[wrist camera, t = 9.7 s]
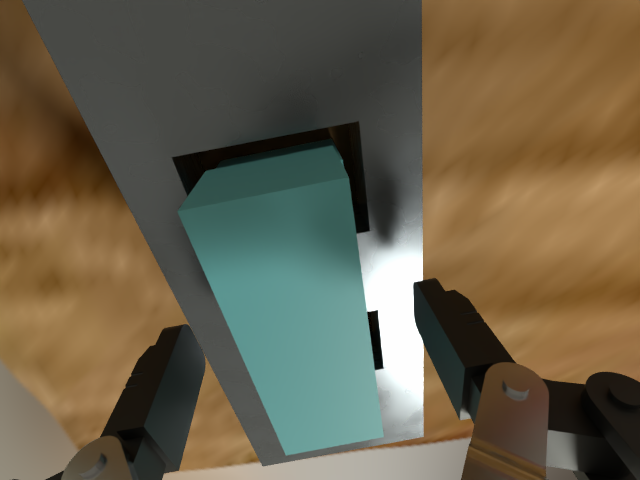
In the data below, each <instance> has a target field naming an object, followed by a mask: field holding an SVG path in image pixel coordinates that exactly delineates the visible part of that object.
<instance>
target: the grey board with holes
mask: <svg viewBox="0 0 640 480" xmlns="http://www.w3.org/2000/svg"><path fill="white" fill-rule="evenodd" d="M22 1H23V3H24V5H25V7H26V9H27V11H28V13H29V15H30V17H31V19H32V21H33V23H34V24H35V26H36V28H37V30H38V32H39V34H40V36H41V38H42V40H43V42H44V44H45V46H46V48H47V50H48V52H49V53H50V55H51V57H52V59H53V61H54V63H55V65H56V67H57V69H58V71H59V73H60V75H61V77H62V79H63V81H64V83H65V84H66V86H67V88H68V90H69V92H70V94H71V96H72V98H73V100H74V102H75V104H76V106H77V108H78V110H79V112H80V114H81V115H82V117H83V119H84V121H85V123H86V125H87V127H88V129H89V131H90V133H91V135H92V137H93V139H94V141H95V143H96V144H97V146H98V148H99V150H100V152H101V154H102V156H103V158H104V160H105V162H106V164H107V166H108V168H109V170H110V172H111V174H112V175H113V177H114V179H115V181H116V183H117V185H118V187H119V189H120V191H121V193H122V195H123V197H124V199H125V201H126V203H127V205H128V206H129V208H130V210H131V212H132V214H133V216H134V218H135V220H136V222H137V224H138V226H139V228H140V230H141V232H142V234H143V235H144V237H145V239H146V241H147V243H148V245H149V247H150V249H151V251H152V253H153V255H154V257H155V259H156V261H157V263H158V265H159V266H160V268H161V270H162V272H163V274H164V276H165V278H166V280H167V282H168V284H169V286H170V288H171V290H172V292H173V294H174V296H175V297H176V299H177V301H178V303H179V305H180V307H181V309H182V311H183V313H184V315H185V317H186V319H187V321H188V323H189V325H190V326H191V328H192V330H193V332H194V334H195V336H196V338H197V340H198V342H199V344H200V346H201V348H202V350H203V352H204V354H205V356H206V357H207V359H208V361H209V363H210V365H211V367H212V369H213V371H214V373H215V375H216V377H217V379H218V381H219V383H220V385H221V387H222V388H223V390H224V392H225V394H226V396H227V398H228V400H229V402H230V404H231V406H232V408H233V410H234V412H235V414H236V416H237V417H238V419H239V421H240V423H241V425H242V427H243V429H244V431H245V433H246V435H247V437H248V439H249V441H250V443H251V445H252V447H253V448H254V450H255V452H256V454H257V456H258V458H259V460H260V462H261V464H262V466H267V465H273V464H278V463H284V462H289V461H295V460H300V459H306V458H311V457H317V456H322V455H327V454H333V453H338V452H344V451H349V450H354V449H360V448H365V447H371V446H376V445H382V444H387V443H392V442H398V441H403V440H409V439H414V438H419V437H423V341H422V339H421V337H420V335H419V333H418V330H417V328H416V324H415V320H414V311H413V283H414V282H417V281H422V280H423V224H422V0H22ZM347 123H348V127H349V136H350V144H351V153H352V162H353V170H354V179H355V187H356V196H357V204H358V205H353V212H354V220H355V227H356V234H357V242H358V249H359V257H360V264H361V271H362V279H363V286H364V294H365V301H366V308H367V312H369V311H370V315H371V324H372V332H370V338H371V345H372V353H373V360H374V367H375V375H376V382H377V390H378V397H379V404H380V412H381V419H382V427H383V434H384V437H381V438H376V439H371V440H365V441H360V442H355V443H350V444H344V445H339V446H334V447H329V448H323V449H318V450H313V451H308V452H302V453H297V454H292V455H287V456H286V455H285V452H284V450H283V448H282V446H281V443H280V441H279V439H278V437H277V434H276V432H275V430H274V428H273V425H272V423H271V421H270V419H269V416H268V414H267V412H266V410H265V407H264V405H263V403H262V401H261V399H260V396H259V394H258V392H257V390H256V387H255V385H254V383H253V381H252V378H251V376H250V374H249V372H248V369H247V367H246V365H245V363H244V360H243V358H242V356H241V354H240V351H239V349H238V347H237V345H236V342H235V340H234V338H233V336H232V333H231V331H230V329H229V327H228V324H227V322H226V320H225V318H224V315H223V313H222V311H221V309H220V307H219V304H218V302H217V300H216V298H215V295H214V293H213V291H212V289H211V286H210V284H209V282H208V280H207V277H206V275H205V273H204V271H203V268H202V266H201V264H200V262H199V259H198V257H197V255H196V253H195V250H194V248H193V246H192V244H191V241H190V239H189V237H188V235H187V232H186V230H185V228H184V226H183V223H182V221H181V219H180V217H179V214H178V212H177V211H178V210H179V208H180V207H181V205H182V204H183V202H184V201H185V200H186V198H187V197H188V195H189V194H190V193H191V191H192V190H193V188H194V187H195V185H196V184H197V183H198V181H199V180H200V178H201V177H202V175H203V174H204V171H203V169H202V166H201V163H200V160H199V158H198V155H197V152H202V151H207V150H212V149H217V148H222V147H228V146H233V145H238V144H243V143H248V142H254V141H259V140H264V139H269V138H274V137H280V136H285V135H290V134H295V133H300V132H306V131H311V130H316V129H321V128H326V127H332V126H337V125H342V124H347Z"/></svg>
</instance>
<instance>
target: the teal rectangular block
mask: <svg viewBox="0 0 640 480" xmlns="http://www.w3.org/2000/svg"><path fill="white" fill-rule="evenodd" d="M177 212H178V214H179V217H180V219H181V221H182V223H183V226H184V228H185V230H186V232H187V235H188V237H189V239H190V241H191V244H192V246H193V248H194V250H195V253H196V255H197V257H198V259H199V262H200V264H201V266H202V268H203V271H204V273H205V275H206V277H207V280H208V282H209V284H210V286H211V289H212V291H213V293H214V295H215V298H216V300H217V302H218V304H219V307H220V309H221V311H222V313H223V315H224V318H225V320H226V322H227V324H228V327H229V329H230V331H231V333H232V336H233V338H234V340H235V342H236V345H237V347H238V349H239V351H240V354H241V356H242V358H243V360H244V363H245V365H246V367H247V369H248V372H249V374H250V376H251V378H252V381H253V383H254V385H255V387H256V390H257V392H258V394H259V396H260V399H261V401H262V403H263V405H264V407H265V410H266V412H267V414H268V416H269V419H270V421H271V423H272V425H273V428H274V430H275V432H276V434H277V437H278V439H279V441H280V443H281V446H282V448H283V450H284V452H285V455H286V456H287V455H292V454H297V453H302V452H308V451H313V450H318V449H323V448H329V447H334V446H339V445H344V444H350V443H355V442H360V441H365V440H371V439H376V438H381V437H384V434H383V427H382V419H381V412H380V404H379V397H378V390H377V382H376V375H375V367H374V360H373V353H372V345H371V338H370V330H369V323H368V316H367V308H366V301H365V294H364V286H363V279H362V271H361V264H360V257H359V249H358V242H357V234H356V227H355V220H354V212H353V205H352V197H351V190H350V183H349V177H348V175H347V173H346V171H345V169H344V164H343V159H342V157H341V155H340V153H339V151H338V150H337V148H336V146H335V144H334V142H333V140H332V138H331V139H326V140H321V141H316V142H311V143H306V144H301V145H296V146H291V147H286V148H281V149H276V150H271V151H266V152H261V153H256V154H251V155H246V156H241V157H236V158H231V159H226V160H221V161H220V162H219V164H218V165H217V167H216V169H212V170H207V171H205V173H204V174H203V175H202V177H201V178H200V180H199V181H198V183H197V184H196V185H195V187H194V188H193V190H192V191H191V193H190V194H189V195H188V197H187V198H186V200H185V201H184V202H183V204H182V205H181V207H180V208H179V210H178V211H177Z"/></svg>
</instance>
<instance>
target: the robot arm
mask: <svg viewBox="0 0 640 480" xmlns="http://www.w3.org/2000/svg"><path fill="white" fill-rule="evenodd" d="M413 311H414V320H415V324H416V328H417V330H418V333H419V335H420V337H421V339H422V341H423V343H424V345H425V348H426V350H427V352H428V354H429V356H430V358H431V360H432V362H433V364H434V367H435V369H436V371H437V373H438V375H439V377H440V379H441V381H442V383H443V386H444V388H445V390H446V392H447V394H448V396H449V398H450V400H451V403H452V405H453V407H454V409H455V411H456V413H457V415H458V417H459V419H460V420H463V419H469V418H471V419H472V421H473V423H474V429H473V434H472V438H471V442H470V444H469V447H468V451H467V455H466V460H465V465H464V469H463V473H462V478H461V480H548V479H547V478H546V466H552V467H557V468H563V469H569V470H572V471H573V473H574V474H575V476H576V477H577V479H578V480H640V382H638V381H636V380H634V379H632V378H630V377H627V376H625V375H622V374H618V373H613V372H599V373H595V374H593V375H591V376H590V377H589V378H588V379H587V381H586V384H576V383H567V382H558V381H551V380H546V379H542V378H540V377H539V376H538V375H537V374H536V373H535V372H533V371H532V370H530V369H529V368H527V367H525V366H522V365H519V364H517V363H516V362H515V361H514V360H513V359H512V357H511V356H510V355H509V353H508V352H507V351H506V349H505V348H504V347H503V345H502V344H501V343H500V341H499V340H498V339H497V337H496V336H495V335H494V333H493V332H492V330H491V329H490V328H489V326H488V325H487V324H486V322H484V320H483V318H482V317H481V316H480V314H479V313H477V311H476V309H475V308H474V306H473V305H472V304H471V302H470V301H469V299H468V298H466V297H465V296H463V295H462V294H460V293H459V292H457V291H456V290H451V291H445V290H444V289H443V287H442V286H441V284H440V283H439V281H438V280H437V279H436V278H432V279H427V280H422V281H417V282H414V283H413ZM204 372H205V356H204V353H203V351H202V349H201V347H200V345H199V343H198V341H197V339H196V337H195V335H194V334H193V332H192V330H191V328H190V326H189V325H187V324H184V325H179V326H174V327H168V328H164V329H163V330H162V332H161V334H160V336H159V338H158V340H157V342H156V345H154V346H150V347H149V348H148V349H147V350H146V351H145V353H144V354H143V355H142V356H141V357H140V358H139V359H138V361H137V363H136V365H135V367H134V369H133V371H132V373H131V377H129V379H128V381H127V384H126V388H125V389H124V390H123V392H122V394H121V396H120V398H119V400H118V402H117V404H116V406H115V408H114V410H113V412H112V414H111V416H110V418H109V420H108V422H107V424H106V426H105V428H104V430H103V432H102V434H101V436H100V438H98V439H96V440H94V441H92V442H90V443H89V444H87V445H86V446H85V447H83V448H82V449H81V450H80V451H79V452H78V453H77V454H76V455H75V456H74V457H73V458H72V459H71V461H70V462H69V464H68V465H67V467H66V468H65V470H64V471H62V472H60V473H58V474H56V475H54V476H52V477H50V478H48V479H46V480H162V478H163V475H164V473H169V472H174V471H179V468H180V464H181V460H182V456H183V452H184V448H185V445H186V441H187V437H188V433H189V429H190V426H191V422H192V418H193V414H194V410H195V406H196V403H197V399H198V395H199V391H200V387H201V384H202V380H203V376H204ZM14 480H16V479H14Z"/></svg>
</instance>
